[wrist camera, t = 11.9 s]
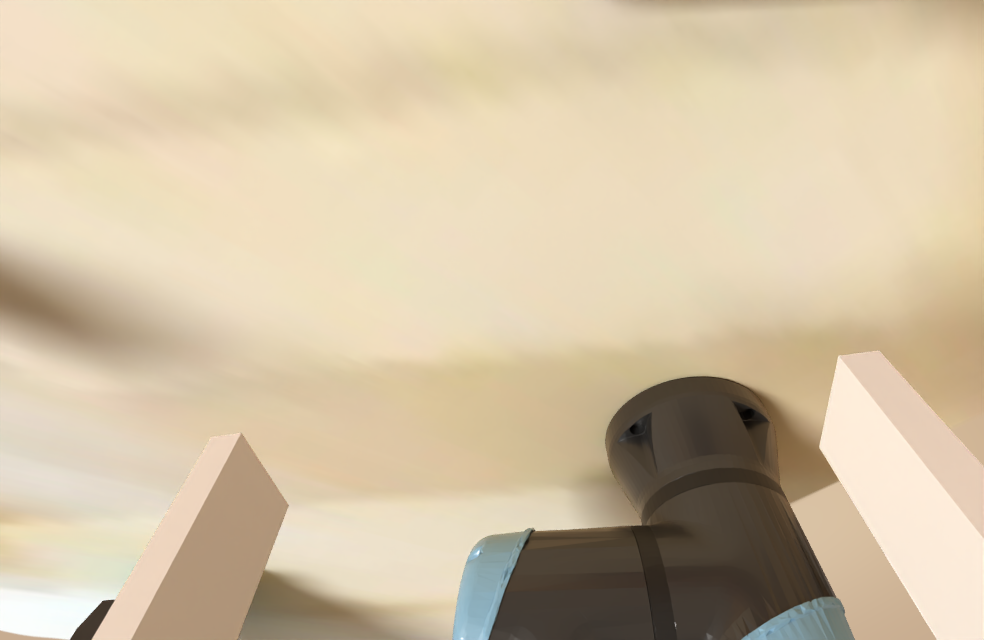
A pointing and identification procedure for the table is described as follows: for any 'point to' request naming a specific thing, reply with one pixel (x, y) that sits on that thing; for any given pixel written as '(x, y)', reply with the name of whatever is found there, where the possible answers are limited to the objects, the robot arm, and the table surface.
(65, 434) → the table surface
